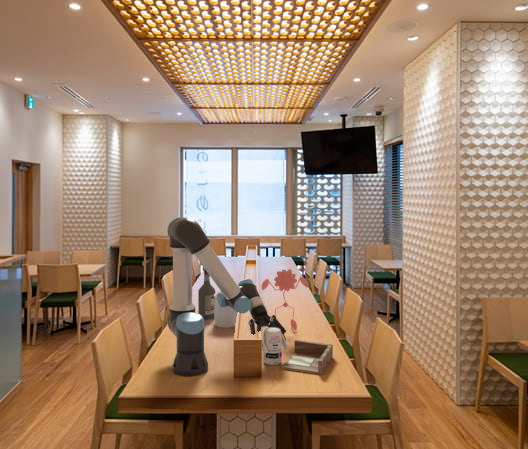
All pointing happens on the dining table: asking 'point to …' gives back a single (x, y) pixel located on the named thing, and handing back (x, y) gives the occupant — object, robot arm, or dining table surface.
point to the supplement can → (273, 346)
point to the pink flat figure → (286, 287)
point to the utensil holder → (224, 315)
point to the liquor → (206, 298)
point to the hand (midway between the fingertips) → (276, 350)
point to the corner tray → (309, 357)
